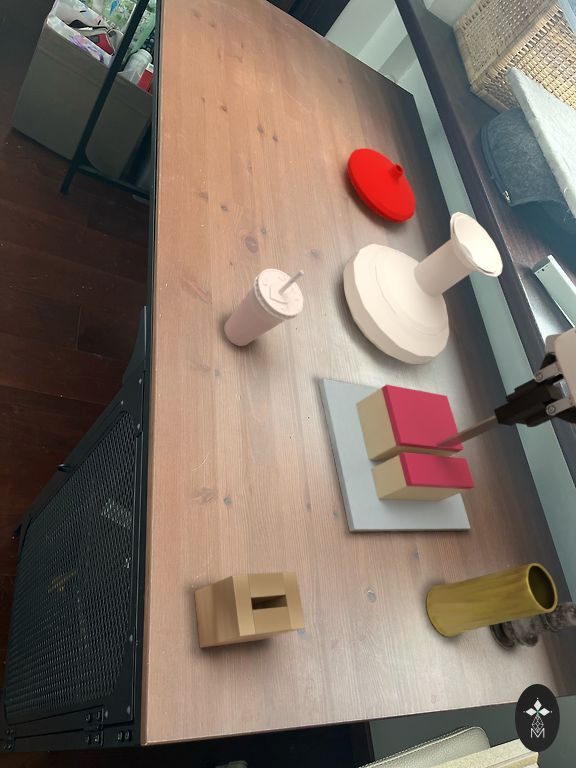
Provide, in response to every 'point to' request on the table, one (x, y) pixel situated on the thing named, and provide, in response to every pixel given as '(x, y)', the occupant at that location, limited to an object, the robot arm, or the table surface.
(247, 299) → the smoothie
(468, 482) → the cake slice
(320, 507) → the table surface
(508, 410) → the knife
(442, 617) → the vase
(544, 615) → the salt shaker
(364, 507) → the cake plate
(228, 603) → the knife block
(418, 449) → the cake
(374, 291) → the candle holder
